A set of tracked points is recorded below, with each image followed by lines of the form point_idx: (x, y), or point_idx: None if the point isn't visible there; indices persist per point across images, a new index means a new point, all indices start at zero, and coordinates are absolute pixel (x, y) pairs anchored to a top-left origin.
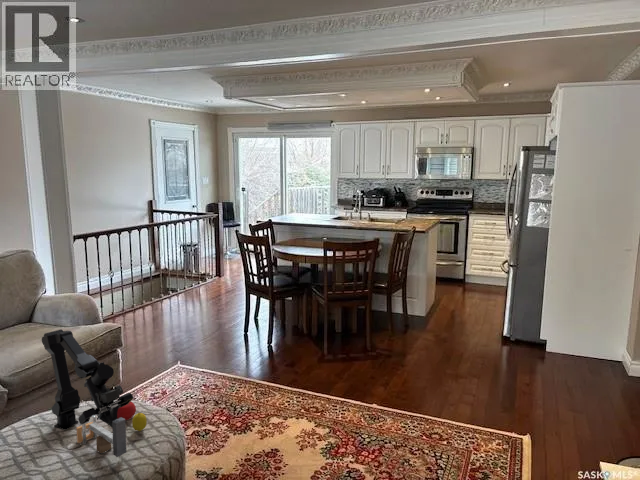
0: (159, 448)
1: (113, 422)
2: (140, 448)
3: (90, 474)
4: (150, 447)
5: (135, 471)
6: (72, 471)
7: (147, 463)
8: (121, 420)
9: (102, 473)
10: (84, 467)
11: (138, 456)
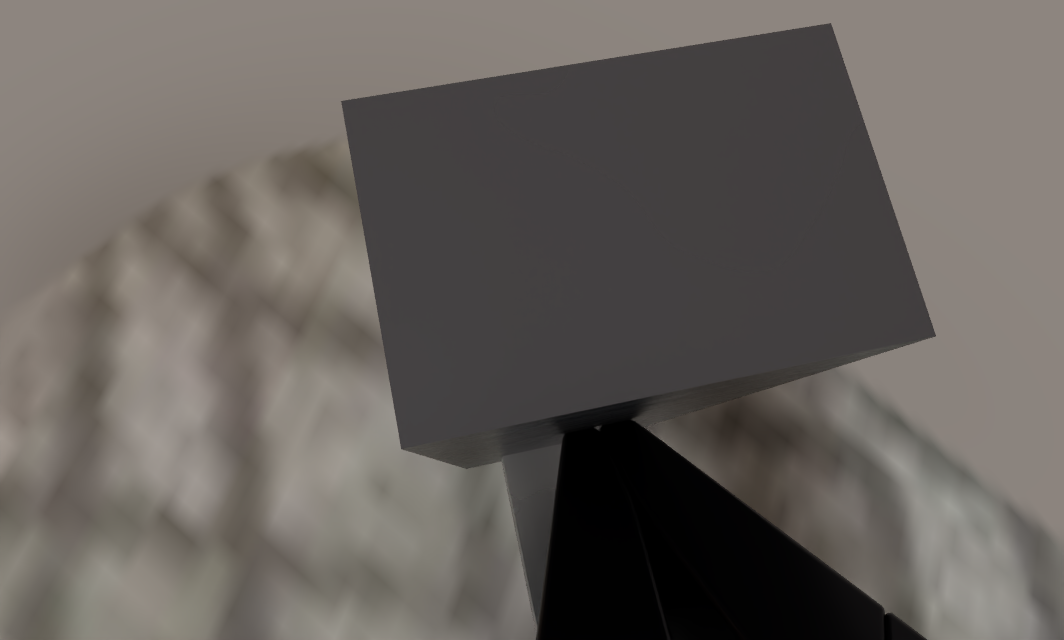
0: (30, 347)
1: (887, 233)
2: (211, 511)
3: (867, 386)
4: (102, 446)
5: None
6: (1028, 580)
7: (299, 166)
8: (533, 123)
9: None
10: (899, 568)
11: (314, 359)
